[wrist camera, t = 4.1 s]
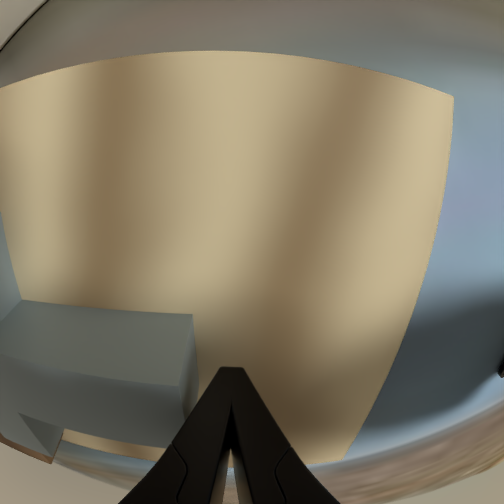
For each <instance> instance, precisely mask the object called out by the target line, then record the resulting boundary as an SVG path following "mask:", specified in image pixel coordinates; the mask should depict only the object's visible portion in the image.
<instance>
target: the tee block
mask: <svg viewBox="0 0 504 504" xmlns="http://www.w3.org/2000/svg"><path fill="white" fill-rule="evenodd" d="M198 390H199V377H198V368H197V358H196V348H195V336H194V325H193V314H175V313H156V312H140V311H126V310H113V309H101V308H90V307H80V306H71V305H62V304H53V303H45V302H37V301H30V300H22V298H21V295H20V292H19V289H18V285H17V282H16V278H15V275H14V271H13V267H12V263H11V259H10V255H9V251H8V247H7V242H6V237H5V232H4V227H3V222H2V216H1V212H0V433H1V434H2V435H3V436H4V437H5V438H6V439H9V440H11V441H13V442H15V443H17V444H20V445H22V446H24V447H27V448H29V449H31V450H34V451H36V452H39V453H41V454H44V455H47V456H49V457H52V458H53V456H54V453H55V451H56V448H57V446H58V443H59V441H60V438H61V436H62V433H63V431H64V429H69V430H72V431H76V432H80V433H84V434H88V435H92V436H96V437H100V438H105V439H110V440H115V441H120V442H125V443H131V444H137V445H143V446H150V447H158V448H166V449H167V447H168V446H169V444H171V442H172V440H173V439H174V437H175V436H176V434H177V433H178V431H179V430H180V428H181V427H182V425H183V423H184V422H185V420H186V419H187V417H188V416H189V414H190V413H191V411H192V410H193V408H194V407H195V405H196V404H197V399H198Z"/></svg>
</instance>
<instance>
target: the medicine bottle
mask: <svg viewBox="0 0 504 504" xmlns="http://www.w3.org/2000/svg"><path fill="white" fill-rule="evenodd" d="M46 1H47V0H0V50H1V49H2V47H3V46H4V45H5V44H6V43H7V41H8V40H9V39H10V38H11V37H12V36H13V34H14V33H15V32H16V31H17V30H18V29H19V28H20V27H21V26H22V25H23V24H24V22H25V21H26V20H27V19H28V18H29V17H30V16H31V15H32V14H33V13H34V12H35V11H36V10H37V9H38V8H39V7H40V6H42V5H43V4H44V3H45V2H46Z"/></svg>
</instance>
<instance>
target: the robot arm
mask: <svg viewBox="0 0 504 504" xmlns="http://www.w3.org/2000/svg"><path fill="white" fill-rule="evenodd" d="M498 375H499V376H500V377H501V378H503V377H504V361H503V363H502V365H501V366H500V368H499V370H498ZM230 450H231V454H232V461H233V467H234V474H235V480H236V487H237V493H238V499H239V504H340V503H339V502H338V501H337V500H336V499H335V498H334V497H333V496H332V495H331V494H330V493H329V492H328V490H327V489H326V488H325V487H324V486H323V485H322V484H321V483H320V482H319V481H318V480H317V479H316V478H315V476H314V475H313V474H312V473H311V472H310V471H309V470H308V468H307V467H306V466H305V464H304V463H303V461H302V460H301V459H300V457H299V456H298V454H297V453H296V451H295V450H294V448H293V447H291V444H290V442H289V441H288V439H287V438H286V436H285V435H284V433H283V432H282V430H281V428H280V427H279V425H278V424H277V422H276V421H275V419H274V417H273V416H272V414H271V413H270V411H269V409H268V408H267V406H266V404H265V403H264V401H263V399H262V398H261V396H260V395H259V393H258V391H257V390H256V388H255V386H254V385H253V383H252V381H251V379H250V378H249V376H248V374H247V373H246V371H245V369H244V368H243V367H230V366H221V367H220V368H219V369H218V371H217V372H216V374H215V376H214V377H213V379H212V380H211V382H210V383H209V385H208V387H207V388H206V390H205V391H204V393H203V394H202V396H201V397H200V399H199V401H198V402H197V404H196V405H195V407H194V408H193V410H192V411H191V413H190V414H189V416H188V417H187V419H186V420H185V422H184V423H183V425H182V427H181V428H180V430H179V431H178V433H177V434H176V436H175V437H174V439H173V440H172V442H171V444H169V446H168V447H167V449H166V450H165V452H164V453H163V454H162V456H161V457H160V459H159V460H158V461H157V463H156V464H155V465H154V466H153V468H152V469H151V470H150V471H149V472H148V473H147V474H146V476H145V477H144V478H143V479H142V480H141V481H140V482H139V483H138V484H137V485H136V486H135V487H134V488H133V489H132V490H131V491H130V492H129V493H128V494H127V495H126V496H125V497H124V498H123V499H122V500H121V501H120V502H119V503H118V504H222V502H223V496H224V489H225V483H226V476H227V470H228V463H229V457H230Z"/></svg>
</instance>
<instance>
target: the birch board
mask: <svg viewBox="0 0 504 504" xmlns="http://www.w3.org/2000/svg"><path fill="white" fill-rule="evenodd" d="M453 105H454V96H451V95H448V94H446V93H443V92H441V91H438V90H435V89H432V88H430V87H427V86H424V85H421V84H418V83H415V82H412V81H409V80H405V79H402V78H399V77H395V76H392V75H388V74H385V73H381V72H377V71H373V70H369V69H365V68H361V67H356V66H352V65H347V64H342V63H337V62H331V61H326V60H320V59H313V58H307V57H299V56H291V55H282V54H272V53H260V52H242V51H183V52H166V53H154V54H143V55H135V56H127V57H120V58H113V59H107V60H101V61H96V62H91V63H86V64H81V65H76V66H72V67H68V68H63V69H59V70H56V71H52V72H48V73H45V74H41V75H38V76H34V77H31V78H28V79H25V80H22V81H19V82H16V83H13V84H10V85H8V86H5V87H2V88H0V212H1V216H2V222H3V227H4V232H5V237H6V242H7V247H8V251H9V255H10V259H11V263H12V267H13V271H14V275H15V278H16V282H17V285H18V289H19V292H20V295H21V298H22V300H30V301H37V302H45V303H53V304H62V305H71V306H80V307H90V308H101V309H113V310H126V311H140V312H156V313H175V314H193V325H194V336H195V348H196V358H197V368H198V377H199V390H198V399H197V402H198V401H199V399H200V397H201V396H202V394H203V393H204V391H205V390H206V388H207V387H208V385H209V383H210V382H211V380H212V379H213V377H214V376H215V374H216V372H217V371H218V369H219V368H220V367H221V366H230V367H243V368H244V369H245V371H246V373H247V374H248V376H249V378H250V379H251V381H252V383H253V385H254V386H255V388H256V390H257V391H258V393H259V395H260V396H261V398H262V399H263V401H264V403H265V404H266V406H267V408H268V409H269V411H270V413H271V414H272V416H273V417H274V419H275V421H276V422H277V424H278V425H279V427H280V428H281V430H282V432H283V433H284V435H285V436H286V438H287V439H288V441H289V442H290V444H291V447H293V448H294V450H295V451H296V453H297V454H298V456H299V457H300V459H301V460H302V461H303V463H304V464H305V465H306V464H315V463H323V462H331V461H338V460H342V459H343V457H344V456H345V454H346V453H347V451H348V449H349V448H350V446H351V444H352V443H353V441H354V439H355V438H356V436H357V434H358V432H359V430H360V429H361V427H362V425H363V423H364V421H365V420H366V418H367V416H368V414H369V412H370V410H371V408H372V406H373V404H374V402H375V400H376V398H377V396H378V394H379V392H380V390H381V388H382V386H383V384H384V382H385V380H386V377H387V375H388V373H389V371H390V369H391V366H392V364H393V362H394V359H395V357H396V355H397V352H398V350H399V347H400V345H401V342H402V340H403V337H404V335H405V332H406V330H407V327H408V324H409V322H410V319H411V316H412V313H413V310H414V307H415V305H416V302H417V299H418V295H419V292H420V289H421V286H422V283H423V279H424V276H425V273H426V269H427V266H428V262H429V258H430V255H431V251H432V247H433V243H434V239H435V235H436V230H437V226H438V221H439V217H440V212H441V207H442V201H443V196H444V190H445V184H446V178H447V171H448V163H449V155H450V146H451V136H452V123H453ZM61 440H64V441H68V442H71V443H74V444H78V445H81V446H85V447H88V448H92V449H96V450H100V451H104V452H109V453H113V454H118V455H123V456H128V457H133V458H139V459H145V460H151V461H158V460H159V459H160V457H161V456H162V454H163V453H164V452H165V450H166V448H158V447H150V446H143V445H137V444H131V443H125V442H120V441H115V440H110V439H105V438H100V437H96V436H92V435H88V434H84V433H80V432H76V431H72V430H69V429H64V431H63V433H62V436H61V438H60V441H61ZM60 441H59V443H60ZM0 442H1V443H4V444H6V445H8V446H10V447H12V448H14V449H16V450H18V451H20V452H22V453H25V454H27V455H29V456H32V457H34V458H36V459H39V460H41V461H44V462H46V463H49V464H52V461H53V459H54V456H55V453H56V451H57V448H58V446H59V443H58V446H57V448H56V451H55V453H54V456H53V458H52V457H49V456H47V455H44V454H41V453H39V452H36V451H34V450H31V449H29V448H27V447H24V446H22V445H20V444H17V443H15V442H13V441H11V440H9V439H6V438H5V437H4V436H3V435H2V434H1V433H0ZM228 467H233V461H232V454H231V450H230V457H229V463H228Z"/></svg>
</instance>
